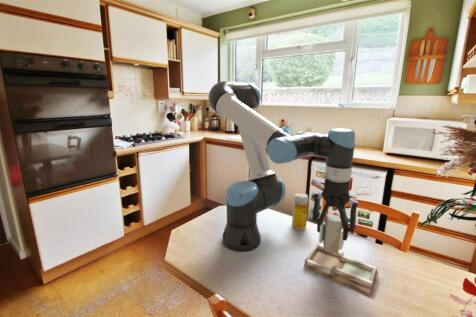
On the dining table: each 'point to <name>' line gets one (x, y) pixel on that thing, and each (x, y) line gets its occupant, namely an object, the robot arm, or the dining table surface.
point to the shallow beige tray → (341, 268)
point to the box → (332, 233)
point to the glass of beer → (300, 210)
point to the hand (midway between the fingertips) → (330, 244)
